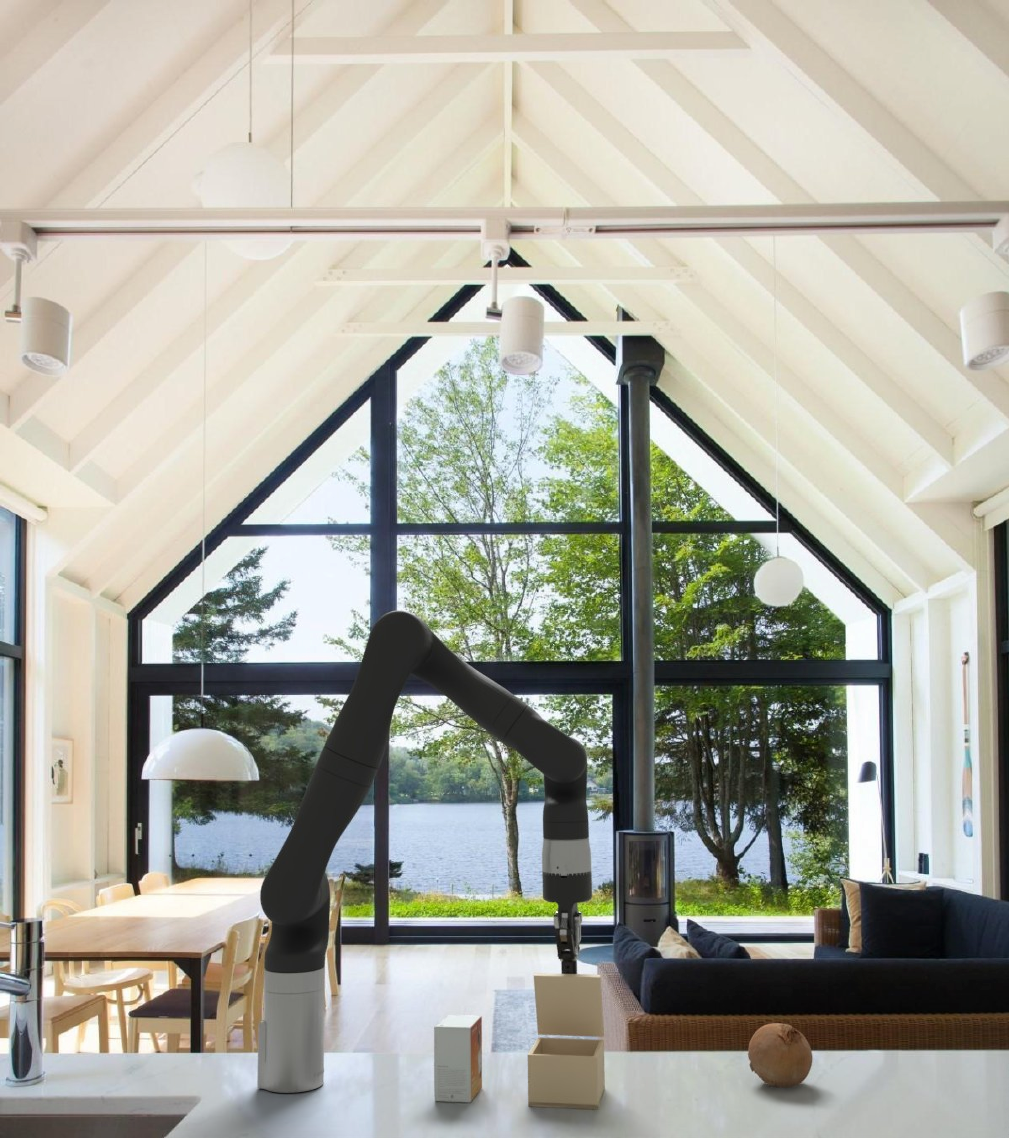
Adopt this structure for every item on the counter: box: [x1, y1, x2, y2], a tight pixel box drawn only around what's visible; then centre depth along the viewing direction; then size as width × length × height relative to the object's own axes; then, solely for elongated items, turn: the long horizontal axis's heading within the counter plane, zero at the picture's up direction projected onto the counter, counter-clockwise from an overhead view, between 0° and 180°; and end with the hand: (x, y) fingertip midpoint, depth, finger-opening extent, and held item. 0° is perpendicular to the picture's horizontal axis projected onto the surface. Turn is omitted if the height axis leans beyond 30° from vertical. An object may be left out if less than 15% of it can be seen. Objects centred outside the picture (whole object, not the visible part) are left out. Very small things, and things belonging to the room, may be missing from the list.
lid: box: [533, 972, 605, 1038], centre depth 179 cm, size 10×10×1 cm
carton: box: [527, 1036, 606, 1110], centre depth 175 cm, size 10×10×7 cm
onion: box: [747, 1022, 813, 1089], centre depth 180 cm, size 10×9×10 cm
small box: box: [433, 1014, 483, 1103], centre depth 177 cm, size 8×6×10 cm
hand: (569, 986), depth 180 cm, fingers closed
